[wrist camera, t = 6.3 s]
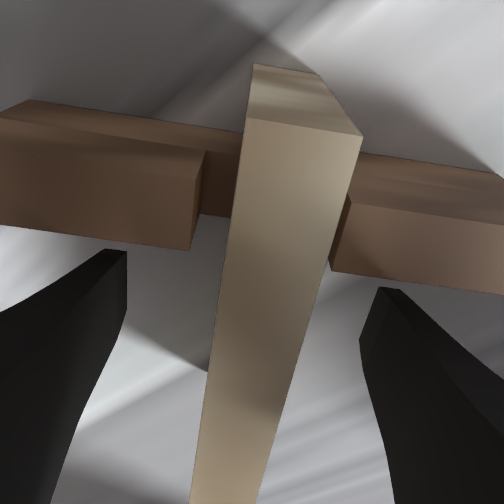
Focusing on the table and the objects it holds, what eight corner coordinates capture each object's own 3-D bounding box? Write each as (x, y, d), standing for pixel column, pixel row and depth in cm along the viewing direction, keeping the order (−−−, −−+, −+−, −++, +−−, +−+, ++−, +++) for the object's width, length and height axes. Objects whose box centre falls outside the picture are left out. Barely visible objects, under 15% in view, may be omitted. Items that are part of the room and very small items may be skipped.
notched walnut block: (497, 173, 13) (581, 237, 10) (472, 225, 14) (541, 300, 10) (28, 99, 12) (-63, 140, 9) (35, 160, 13) (-45, 217, 10)
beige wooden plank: (318, 74, 12) (363, 136, 6) (250, 378, 18) (245, 534, 13) (253, 63, 12) (246, 117, 6) (207, 373, 18) (185, 528, 13)
